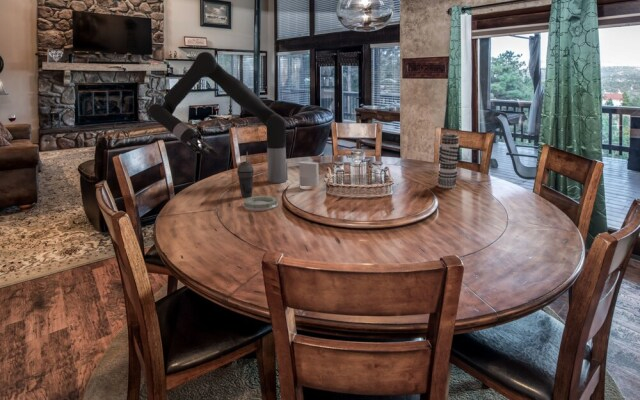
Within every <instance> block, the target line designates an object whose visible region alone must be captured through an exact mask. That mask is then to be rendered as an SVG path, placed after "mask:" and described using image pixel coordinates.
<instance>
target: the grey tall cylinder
mask: <svg viewBox="0 0 640 400" xmlns="http://www.w3.org/2000/svg"><path fill="white" fill-rule="evenodd" d="M440 137H441V143H440V147H439V151H438V152H439V153H440V154H439V158H438V159H439V164H440V165H439V170H438V174H437V175H438V178H437V186H438V187H440V188H444V189H454V188H456V187H457V186H456V184H457V180H458V179H457V176H458V175H457V174H458V172H457V170H458V169H457V163H459V159H458V157H459V156H460V155H458V154H460V151H459V150H461V149H460V147H459V146H460V145H459V144H460V143H459V139H460V136H458V134H457V133H454V132H447V133H446V132H445V133H443V134H442V136H440Z"/></svg>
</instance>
